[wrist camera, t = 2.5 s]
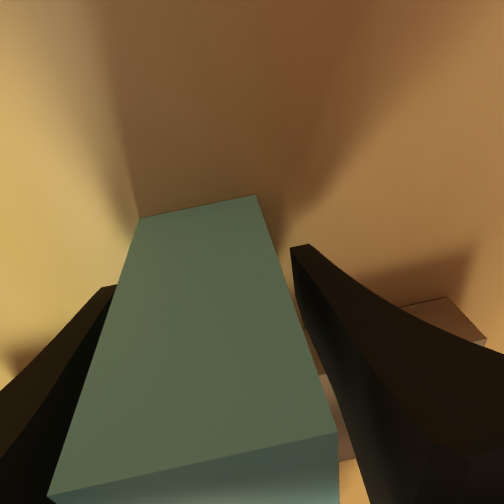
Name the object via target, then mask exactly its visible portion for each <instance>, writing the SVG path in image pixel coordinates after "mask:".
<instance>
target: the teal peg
mask: <svg viewBox="0 0 504 504" xmlns="http://www.w3.org/2000/svg"><path fill="white" fill-rule="evenodd" d="M47 497H48V498H50V499H51V500H52V501H54V502H55V503H56V504H340V501H339V457H338V431H337V428H336V425H335V422H334V419H333V416H332V413H331V410H330V407H329V405H328V402H327V399H326V396H325V393H324V390H323V387H322V384H321V381H320V379H319V376H318V373H317V370H316V367H315V364H314V361H313V358H312V356H311V353H310V350H309V347H308V344H307V341H306V338H305V335H304V332H303V330H302V327H301V324H300V321H299V318H298V315H297V312H296V309H295V306H294V304H293V301H292V298H291V295H290V292H289V289H288V286H287V283H286V280H285V278H284V275H283V272H282V269H281V266H280V263H279V260H278V257H277V255H276V252H275V249H274V246H273V243H272V240H271V237H270V234H269V231H268V229H267V226H266V223H265V220H264V217H263V214H262V211H261V208H260V205H259V203H258V200H257V197H256V195H251V196H246V197H241V198H237V199H232V200H227V201H222V202H217V203H212V204H208V205H203V206H198V207H193V208H188V209H183V210H179V211H174V212H169V213H164V214H159V215H154V216H150V217H145V218H140V219H139V221H138V224H137V227H136V230H135V233H134V236H133V239H132V242H131V245H130V248H129V251H128V254H127V257H126V260H125V263H124V266H123V269H122V272H121V275H120V278H119V281H118V284H117V287H116V290H115V293H114V296H113V299H112V302H111V305H110V308H109V311H108V314H107V317H106V320H105V323H104V326H103V329H102V332H101V335H100V338H99V341H98V344H97V347H96V350H95V353H94V356H93V359H92V362H91V365H90V368H89V371H88V374H87V377H86V380H85V383H84V386H83V389H82V392H81V395H80V398H79V401H78V404H77V407H76V410H75V413H74V416H73V419H72V422H71V425H70V428H69V431H68V434H67V437H66V440H65V443H64V446H63V449H62V452H61V455H60V458H59V460H58V463H57V466H56V469H55V472H54V475H53V478H52V481H51V484H50V487H49V490H48V493H47Z"/></svg>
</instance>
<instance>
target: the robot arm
mask: <svg viewBox="0 0 504 504" xmlns="http://www.w3.org/2000/svg"><path fill="white" fill-rule="evenodd" d="M290 254H291V263H292V271H293V280H294V288H295V296H296V300H297V303H298V306H299V310H300V313H301V316H302V319H303V322H304V325H305V327H306V330H307V332H308V334H309V336H310V339H311V341H312V343H313V345H314V348H315V350H316V352H317V354H318V357H319V359H320V361H321V363H322V366H323V368H324V370H325V372H326V375H327V377H328V379H329V382H330V384H331V386H332V389H333V391H334V394H335V396H336V399H337V402H338V405H339V408H340V411H341V414H342V417H343V420H344V423H345V426H346V429H347V432H348V435H349V438H350V441H351V444H352V447H353V450H354V453H355V456H356V459H357V463H358V466H359V469H360V472H361V475H362V478H363V482H364V485H365V488H366V491H367V494H368V498H369V501H370V504H504V354H502V353H499V352H496V351H494V350H491V349H488V348H486V347H483V346H481V345H478V344H475V343H473V342H470V341H468V340H466V339H463V338H461V337H458V336H456V335H454V334H451V333H449V332H447V331H445V330H443V329H440V328H438V327H436V326H434V325H432V324H429V323H427V322H425V321H423V320H421V319H419V318H417V317H415V316H413V315H411V314H409V313H408V312H406V311H404V310H402V309H400V308H398V307H396V306H395V305H393V304H391V303H389V302H388V301H386V300H384V299H383V298H381V297H379V296H378V295H376V294H375V293H373V292H372V291H370V290H369V289H367V288H366V287H364V286H363V285H361V284H360V283H358V282H357V281H356V280H354V279H353V278H352V277H350V276H349V275H347V274H346V273H345V272H343V271H342V270H341V269H339V268H338V267H337V266H336V265H334V264H333V263H332V262H331V261H329V260H328V259H327V258H326V257H325V256H323V255H322V254H321V253H320V252H319V251H317V250H316V249H315V248H314V247H313V246H311V245H310V244H305V245H300V246H296V247H291V248H290ZM116 287H117V284H116V285H111V286H106V287H102V288H101V289H99V290H98V291H97V292H96V293H95V294H94V295H93V296H92V298H91V299H90V300H89V301H88V302H87V303H86V304H85V305H84V306H83V307H82V308H81V310H80V311H79V312H78V313H77V314H76V315H75V316H74V317H73V318H72V319H71V321H70V322H69V323H68V324H67V325H66V326H65V327H64V328H63V329H62V330H61V331H60V333H59V334H58V335H57V336H56V337H55V338H54V339H53V340H52V341H51V342H50V343H49V344H48V345H47V346H46V347H45V348H44V349H43V350H42V351H41V352H40V353H39V354H38V355H37V356H36V357H35V358H34V359H33V360H32V361H31V362H30V363H29V364H28V365H27V366H26V367H25V368H24V369H23V370H22V371H21V372H20V373H19V374H18V375H17V376H16V377H15V378H14V379H13V380H12V381H11V382H10V383H9V384H8V385H6V386H5V387H4V388H3V389H2V390H1V391H0V504H56V503H55V502H54V501H52V500H51V499H50V498H48V497H47V493H48V490H49V487H50V484H51V481H52V478H53V475H54V472H55V469H56V466H57V463H58V460H59V458H60V455H61V452H62V449H63V446H64V443H65V440H66V437H67V434H68V431H69V428H70V425H71V422H72V419H73V416H74V413H75V410H76V407H77V404H78V401H79V398H80V395H81V392H82V389H83V386H84V383H85V380H86V377H87V374H88V371H89V368H90V365H91V362H92V359H93V356H94V353H95V350H96V347H97V344H98V341H99V338H100V335H101V332H102V329H103V326H104V323H105V320H106V317H107V314H108V311H109V308H110V305H111V302H112V299H113V296H114V293H115V290H116Z"/></svg>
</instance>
